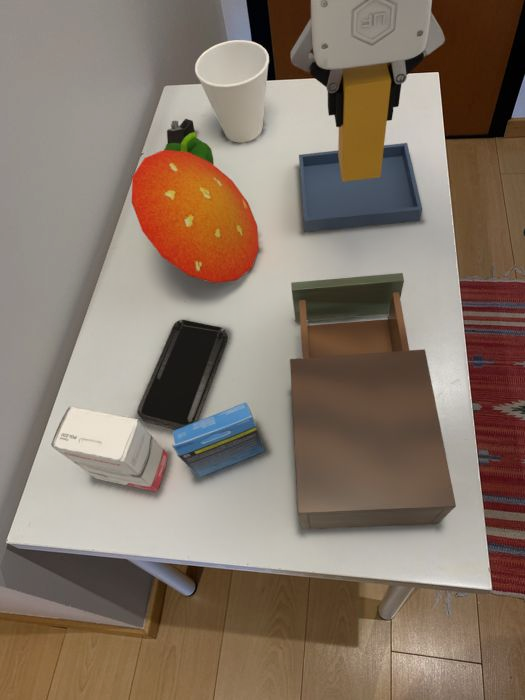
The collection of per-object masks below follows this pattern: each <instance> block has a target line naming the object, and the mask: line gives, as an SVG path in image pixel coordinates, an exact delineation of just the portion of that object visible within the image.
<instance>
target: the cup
mask: <svg viewBox="0 0 525 700" xmlns="http://www.w3.org/2000/svg"><path fill="white" fill-rule="evenodd" d="M269 55H270V54H269V53H268V51H267V49H266V48H265V47H263V45H261V44H259V43H257V42H255V41H251V40H245V39H234V40H226V41H224V42H220V43H217V44H215V45H213V46H210V47H209V48H208V49H206V50H205V51H204V52H202V53H201V54H200V56H199V57H198V58H197V60H196V62H195V64H194V72H195V76H196V77H197V79H198V81H199V82H200V85H201V86H202V87H201V88H202V89H203V91H204V93H205V96H206V98H207V100H208V102H209V103H210V105H211V108H212V110H213V112H214V114H215V116H216V119H217V120H218V123H219V124H220V127H221V129H222V131H223V134H224V135H225V137H226V138H227V139H228V140H229V141H231V142H234V143H242V144H243V143H248V142H251V141H253V140H255V139H257V137H259V136H260V134H261V133H262V132H263V128H264V127H263V125H264V116H265V115H264V114H265V104H266V93H267V81H268V72H269V71H268V70H269V64H270V56H269Z"/></svg>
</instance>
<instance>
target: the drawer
mask: <svg viewBox="0 0 525 700" xmlns="http://www.w3.org/2000/svg"><path fill="white" fill-rule="evenodd" d="M404 283H405V278H404V273H403V272H398V273H397V272H395V273H385V274H375V275H374V274H373V275H363V276H361V275H360V276H349V277H339V278H338V277H337V278H329V279H328V278H327V279H326V278H325V279H316V280H304V281H303V280H302V281H293V282H290V285H291V286H290V287H291V296H292V297H291V298H292V304H293V313H294V321H295V322H297V323H298V322H299V323H300V324H299V325H300V338H301V339H300V340H301V355H302V358H312V357H326V356H340V355H354V354H367V353H381V352H395V351H409V350H410V346H409V340H408V335H407V328H406V324H405V323H406V322H405V319H404V313H403V312H404V311H403V306H402V302H401V298H402V293H403V289H404ZM383 315H387V318H385V319H372V320H359V321H347V322H346V321H345V322H333V323H321V324H308V321H319V320H320V321H321V320H331V319H332V320H334V319H345V318H358V317H370V316H371V317H372V316H383Z"/></svg>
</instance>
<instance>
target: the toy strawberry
mask: <svg viewBox="0 0 525 700" xmlns="http://www.w3.org/2000/svg"><path fill="white" fill-rule="evenodd" d="M131 184H132V185H131V204H132V207H133V210H134V213H135V215H136V218H137V221H138V223H139V226H140V229H141V231H142V233H143V234H144V235H145V237H146V238H147V240H148V241H149V242H150V243H151V245H152V246H153V247H154V249H155V250H157V252H158V254H159V255H160V256H161V257H162V258H163V259H164V260H166V261H167V262H169V263H170V264H171V265H173V266H174V267H175V268H177V269H178V270H180V271H181V272H183V273H184V274H185V275H187V277H193V278H195V279H199V280H202V281H205V282H208V283H211V284H219V283H227V282H235V281H238V280H239V279H241V277H242V276H244V275H245V274H247V273H248V271H250V270H251V269H252V268H253V266H254V263H255V260H256V258H257V256H258V253H259V250H260V246H259V245H260V243H259V231H258V229H259V228H258V224H257V222H256V218H255V216H254V214H253V212H252V209H251V206H250V204H249V202H248V201H247V199H246V198H245V196H244V194H243V193H242V192H241V191H240V189H239V188H238V186H237V185H236V183H234V181H233V180H232V179H231V178H230V177H229V176H227V175H226V174H225V173H224V172H223V171H222V170H221V169H219V168H218V167H217V166H216V165H215V164H214V165H213V164H212V163H210V162H208V161H206V160H204V159H202V158H199V157H197V156H195V155H193V154H191V153H189V152H181V151H170V150H164V149H163V150H161V151H158V152H156V153H153V154H151V155H148V156H147V157H144V158H143V160H142V161H141V163H140V164H139V166H138V167H137V169H136V170H135V172H134V174H133V175H132V183H131Z"/></svg>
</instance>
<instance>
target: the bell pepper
mask: <svg viewBox="0 0 525 700" xmlns="http://www.w3.org/2000/svg"><path fill="white" fill-rule="evenodd" d="M163 150H170V151H181V152H189V153H191V154H193V155H195V156H197V157H199V158H202V159H204V160H206V161H208V162H210V163H212V164H213V165H214V166H215V164H214V155H213V151H212V148H211V147H210V146H209V145H208V143H206V142H204V141H203V140H201V139H199V138H198V137H197V132H196V131H195V132H192V133H190V134H188V135H187V136H186V137H185V138H184V139H183V141H182V142H181V143H180V144H179V143H169V144H167V143H166V144H165V147H164V149H163Z"/></svg>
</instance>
